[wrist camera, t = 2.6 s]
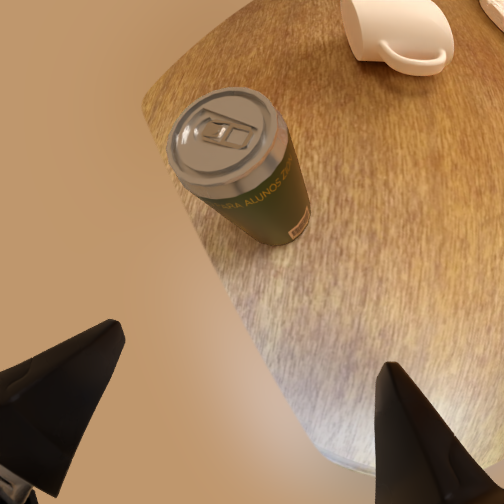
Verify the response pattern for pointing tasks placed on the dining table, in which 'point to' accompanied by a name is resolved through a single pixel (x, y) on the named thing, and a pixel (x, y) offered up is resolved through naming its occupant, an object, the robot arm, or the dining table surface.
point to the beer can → (241, 163)
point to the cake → (494, 11)
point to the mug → (399, 34)
